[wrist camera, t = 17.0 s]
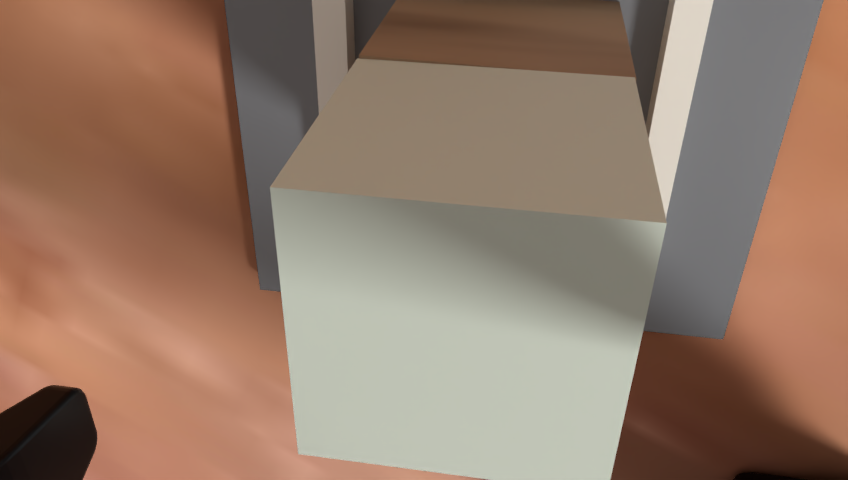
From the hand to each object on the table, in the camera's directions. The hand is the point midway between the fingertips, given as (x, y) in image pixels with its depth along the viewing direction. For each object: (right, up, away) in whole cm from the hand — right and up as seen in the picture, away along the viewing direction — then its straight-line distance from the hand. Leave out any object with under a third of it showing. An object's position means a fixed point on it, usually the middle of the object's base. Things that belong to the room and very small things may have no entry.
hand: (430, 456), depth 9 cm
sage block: (+1, +4, +6) cm, 7 cm away
